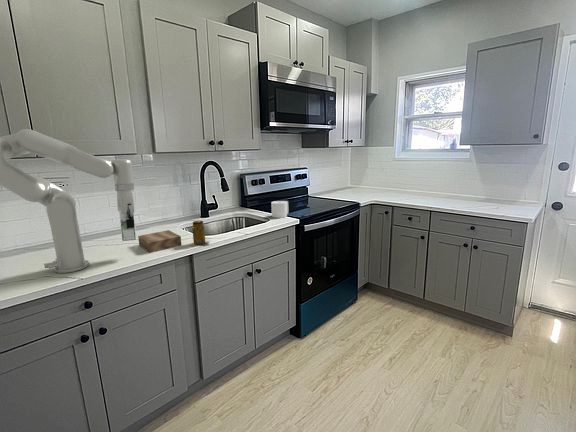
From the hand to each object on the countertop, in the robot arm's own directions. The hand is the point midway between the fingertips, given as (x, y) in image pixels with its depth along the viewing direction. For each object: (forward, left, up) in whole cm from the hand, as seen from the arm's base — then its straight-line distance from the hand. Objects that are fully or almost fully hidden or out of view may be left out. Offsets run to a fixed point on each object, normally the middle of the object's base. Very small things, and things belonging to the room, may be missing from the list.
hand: (128, 225), depth 146 cm
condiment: (+33, -4, -15) cm, 36 cm away
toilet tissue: (+102, +15, -15) cm, 104 cm away
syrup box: (0, 0, -7) cm, 7 cm away
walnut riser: (+16, +8, -15) cm, 23 cm away
